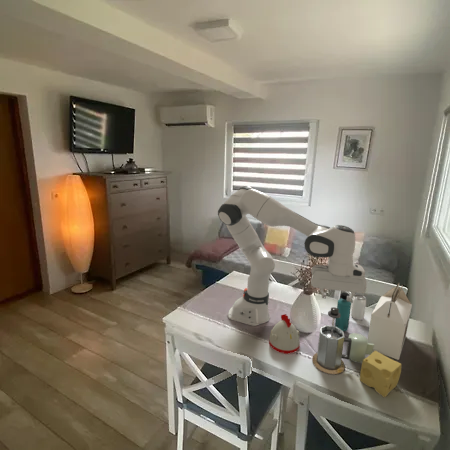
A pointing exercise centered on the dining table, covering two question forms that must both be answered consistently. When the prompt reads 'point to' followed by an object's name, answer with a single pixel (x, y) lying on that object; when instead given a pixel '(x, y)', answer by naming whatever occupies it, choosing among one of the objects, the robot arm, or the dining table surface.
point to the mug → (359, 347)
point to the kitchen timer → (284, 336)
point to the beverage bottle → (343, 312)
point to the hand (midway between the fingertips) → (336, 299)
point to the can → (358, 307)
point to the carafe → (331, 352)
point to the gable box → (390, 323)
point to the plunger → (334, 314)
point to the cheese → (380, 373)
